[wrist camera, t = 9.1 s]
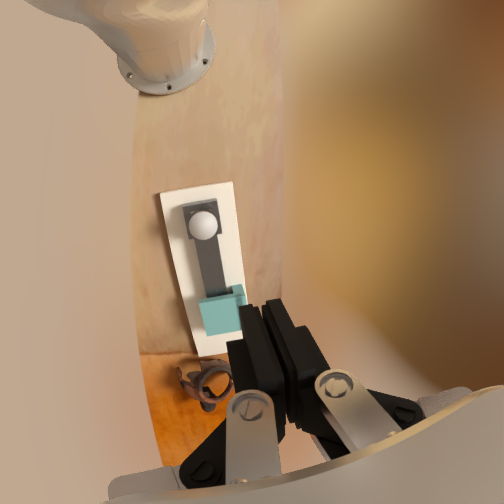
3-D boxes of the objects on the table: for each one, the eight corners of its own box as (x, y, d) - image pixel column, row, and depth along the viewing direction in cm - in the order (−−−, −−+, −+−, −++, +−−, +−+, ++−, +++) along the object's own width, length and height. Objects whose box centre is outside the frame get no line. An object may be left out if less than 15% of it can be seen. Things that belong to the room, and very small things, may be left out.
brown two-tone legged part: (168, 354, 48) (188, 374, 41) (213, 339, 53) (238, 354, 47) (181, 405, 50) (201, 428, 43) (222, 389, 55) (245, 407, 48)
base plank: (160, 192, 36) (155, 201, 32) (231, 180, 38) (236, 187, 33) (198, 353, 48) (200, 374, 43) (252, 343, 49) (258, 363, 44)
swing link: (182, 204, 36) (182, 206, 35) (216, 198, 37) (217, 200, 36) (210, 328, 45) (210, 334, 43) (237, 323, 45) (238, 329, 44)
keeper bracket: (198, 291, 42) (198, 303, 39) (241, 283, 43) (245, 295, 40) (205, 323, 44) (206, 336, 41) (246, 316, 45) (249, 328, 42)
